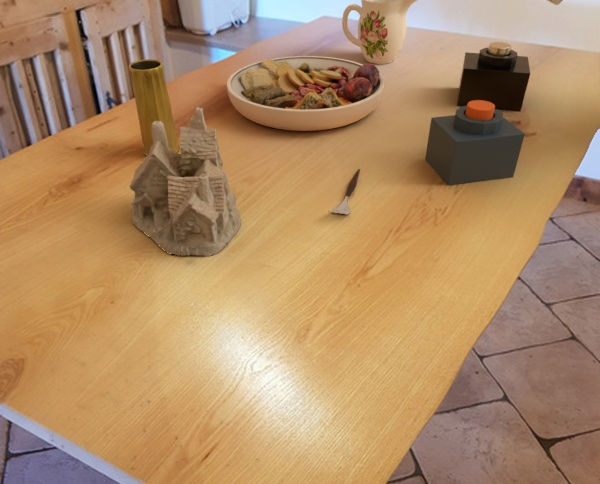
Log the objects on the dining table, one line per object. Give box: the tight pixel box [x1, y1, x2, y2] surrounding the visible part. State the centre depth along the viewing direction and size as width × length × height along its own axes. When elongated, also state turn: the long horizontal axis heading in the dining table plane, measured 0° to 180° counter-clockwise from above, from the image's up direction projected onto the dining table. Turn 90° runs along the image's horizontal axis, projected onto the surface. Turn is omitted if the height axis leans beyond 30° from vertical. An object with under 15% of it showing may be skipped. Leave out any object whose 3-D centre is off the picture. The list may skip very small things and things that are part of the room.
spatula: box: [328, 168, 361, 215], centre depth 82 cm, size 3×16×2 cm, turn 164°
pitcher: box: [341, 0, 418, 65], centre depth 125 cm, size 11×18×14 cm, turn 61°
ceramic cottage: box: [129, 106, 242, 257], centre depth 72 cm, size 16×16×15 cm
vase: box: [128, 58, 180, 156], centre depth 89 cm, size 6×6×14 cm
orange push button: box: [465, 100, 495, 120], centre depth 82 cm, size 4×4×2 cm
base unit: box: [456, 46, 531, 112], centre depth 107 cm, size 12×10×9 cm
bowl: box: [226, 55, 385, 132], centre depth 106 cm, size 30×30×8 cm
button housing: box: [424, 106, 526, 187], centre depth 85 cm, size 11×9×9 cm
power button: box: [487, 41, 512, 57], centre depth 104 cm, size 4×4×2 cm
